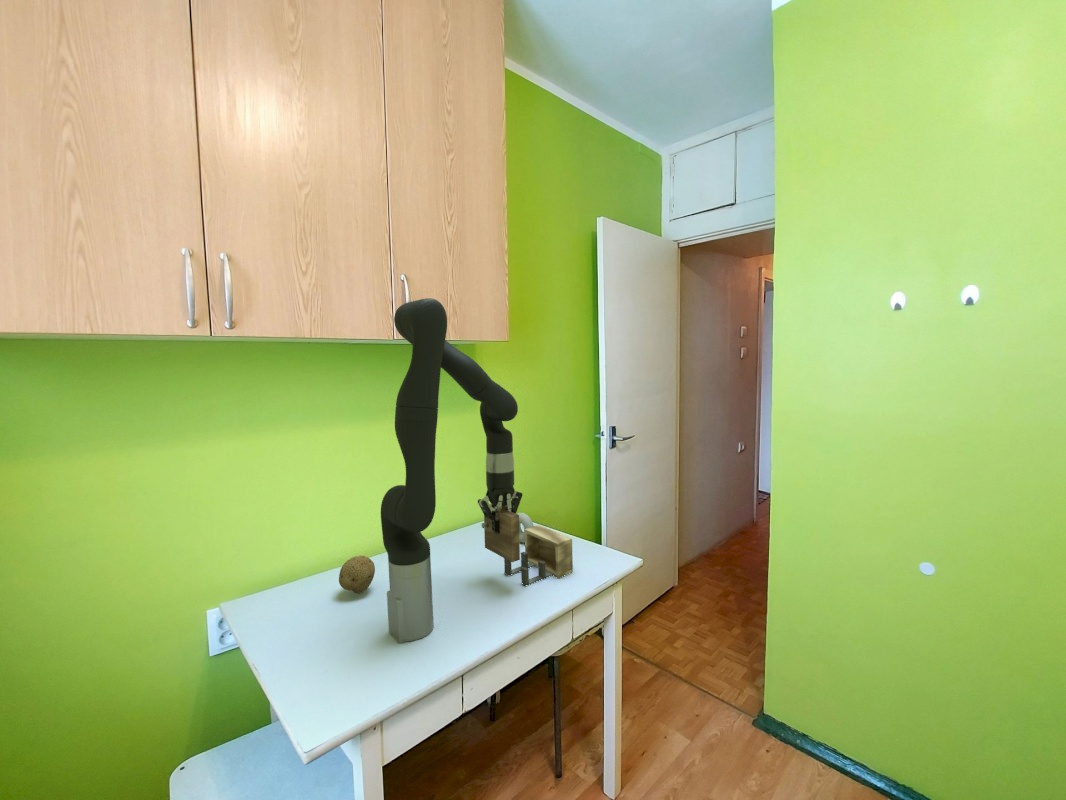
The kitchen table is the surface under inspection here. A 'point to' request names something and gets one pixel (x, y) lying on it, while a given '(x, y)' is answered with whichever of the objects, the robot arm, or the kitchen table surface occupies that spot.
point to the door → (504, 536)
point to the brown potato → (357, 574)
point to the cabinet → (543, 555)
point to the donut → (524, 525)
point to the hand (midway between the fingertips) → (501, 531)
